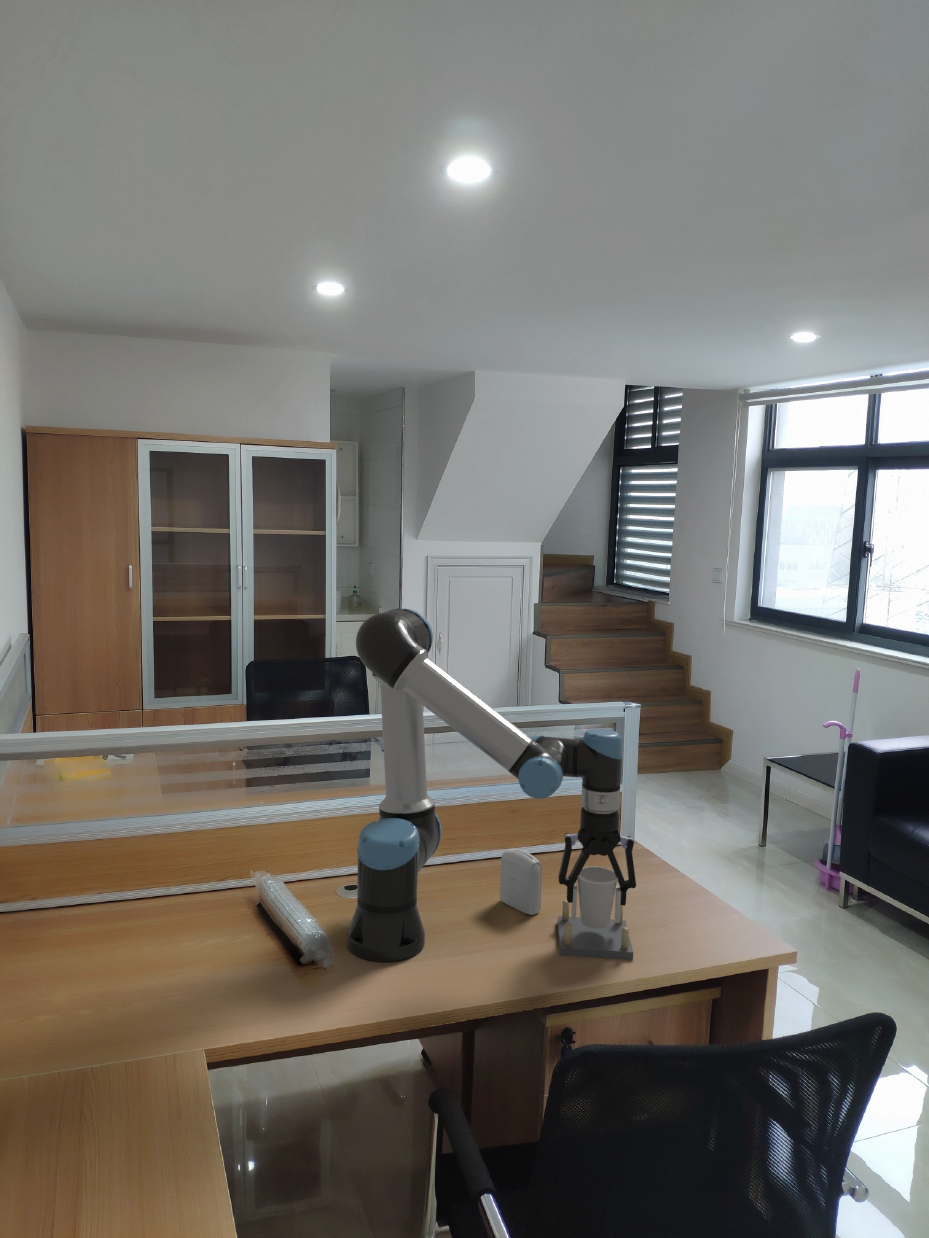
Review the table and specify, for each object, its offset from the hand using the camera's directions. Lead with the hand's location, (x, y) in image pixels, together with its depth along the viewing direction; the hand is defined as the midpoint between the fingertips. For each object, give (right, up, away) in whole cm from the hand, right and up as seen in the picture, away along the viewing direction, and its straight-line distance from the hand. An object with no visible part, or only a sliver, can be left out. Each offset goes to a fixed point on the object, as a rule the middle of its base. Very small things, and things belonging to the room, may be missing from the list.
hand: (595, 918), depth 176 cm
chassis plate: (0, -5, +1) cm, 5 cm away
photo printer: (-14, -3, +15) cm, 21 cm away
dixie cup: (0, -1, 0) cm, 1 cm away
